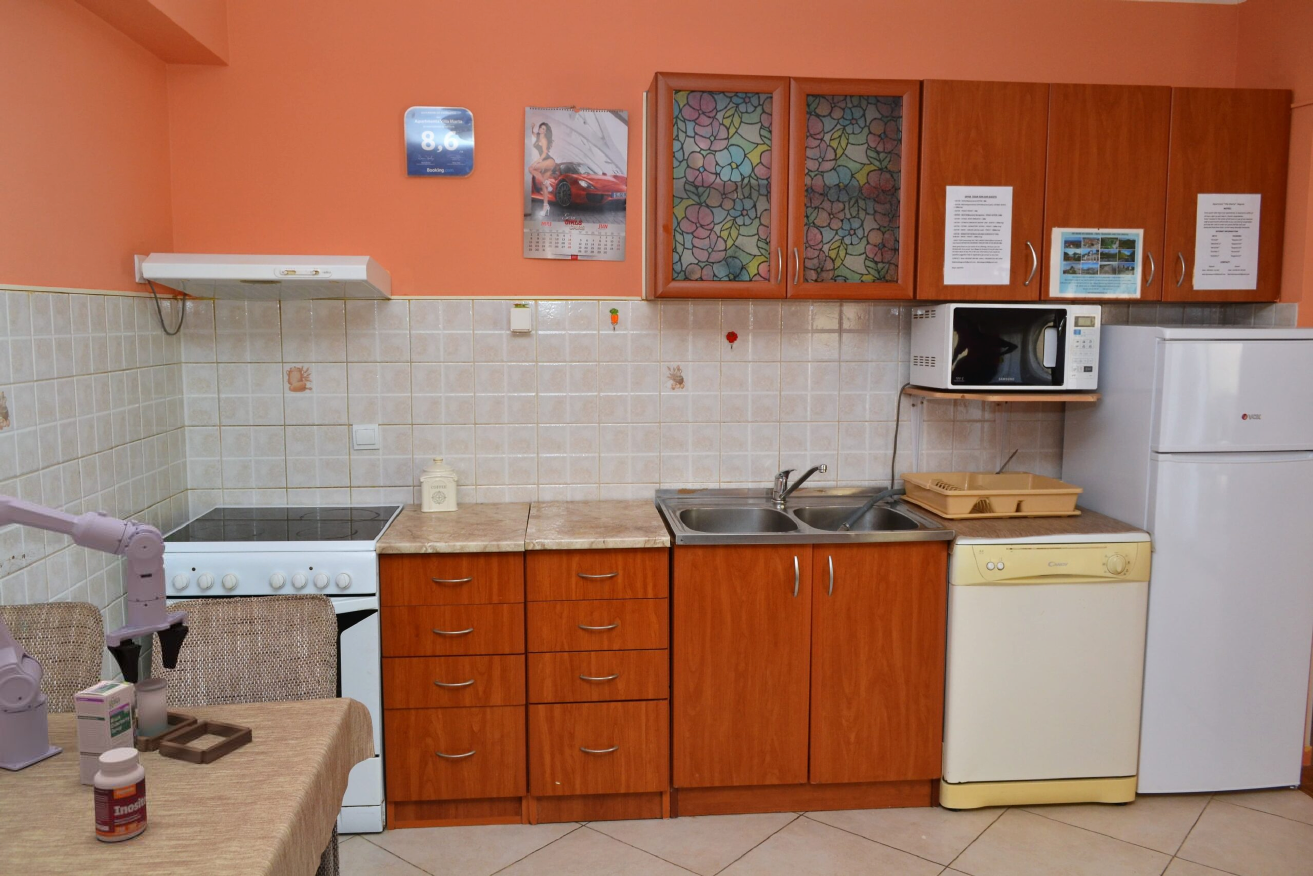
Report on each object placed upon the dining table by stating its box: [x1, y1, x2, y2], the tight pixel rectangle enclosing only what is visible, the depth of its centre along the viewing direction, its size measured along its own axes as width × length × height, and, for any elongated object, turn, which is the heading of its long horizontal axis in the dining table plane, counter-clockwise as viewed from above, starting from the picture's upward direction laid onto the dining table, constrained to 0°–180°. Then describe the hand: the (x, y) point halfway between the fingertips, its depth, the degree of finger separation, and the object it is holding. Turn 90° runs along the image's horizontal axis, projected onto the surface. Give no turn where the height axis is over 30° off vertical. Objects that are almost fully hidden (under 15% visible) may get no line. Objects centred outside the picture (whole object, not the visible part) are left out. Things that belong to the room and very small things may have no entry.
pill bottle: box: [93, 748, 148, 843], centre depth 130 cm, size 6×6×11 cm
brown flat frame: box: [136, 710, 253, 765], centre depth 160 cm, size 22×10×2 cm, turn 69°
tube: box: [134, 677, 168, 738], centre depth 162 cm, size 5×5×9 cm
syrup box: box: [73, 680, 140, 787], centre depth 146 cm, size 6×6×14 cm
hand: (150, 675), depth 162 cm, fingers open, 7 cm apart
